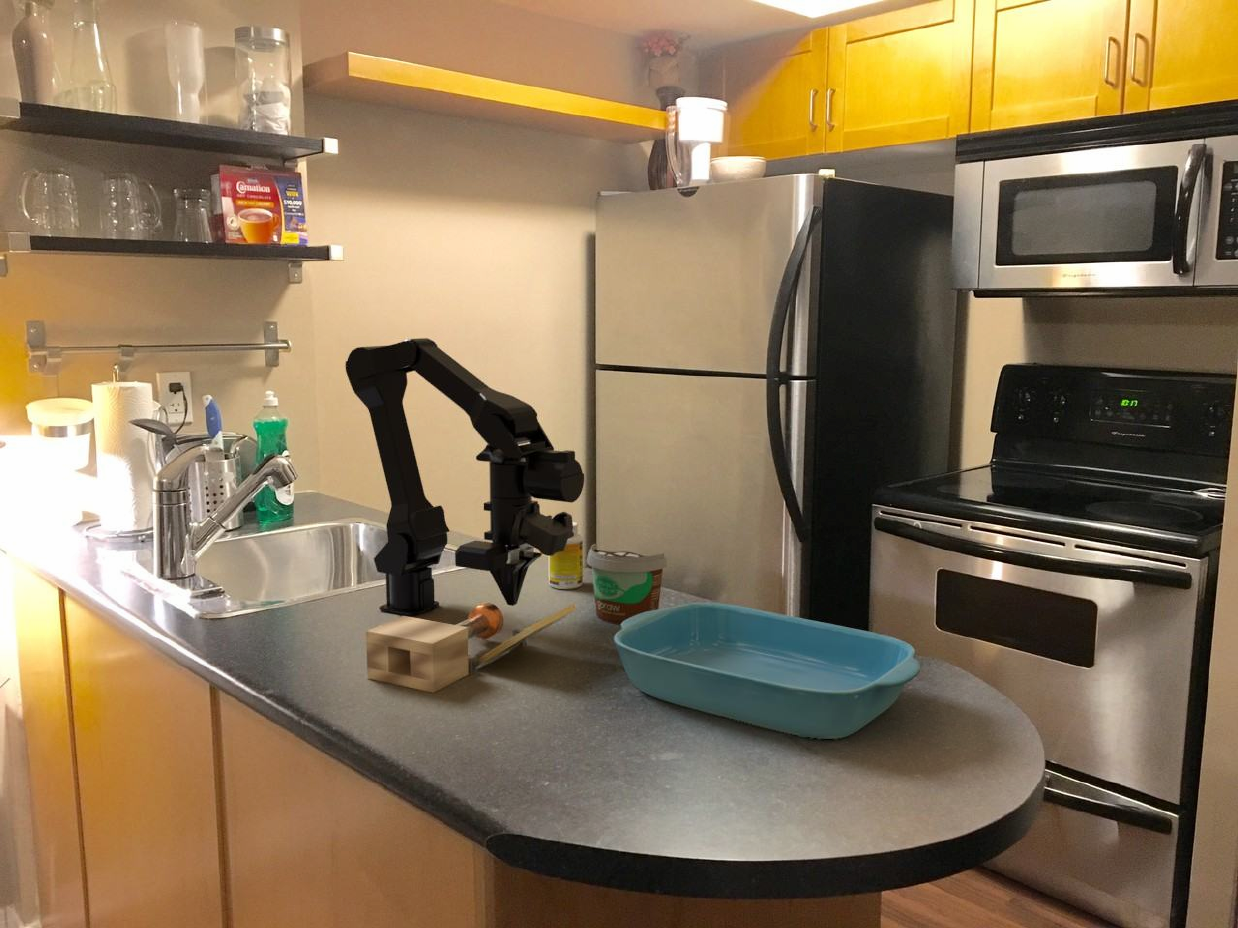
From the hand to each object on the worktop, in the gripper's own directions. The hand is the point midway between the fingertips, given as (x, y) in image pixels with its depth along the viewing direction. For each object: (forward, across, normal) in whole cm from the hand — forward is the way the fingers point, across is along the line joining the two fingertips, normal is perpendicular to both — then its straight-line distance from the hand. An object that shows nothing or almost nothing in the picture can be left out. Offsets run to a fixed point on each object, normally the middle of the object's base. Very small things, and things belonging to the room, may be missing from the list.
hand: (512, 604), depth 147 cm
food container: (+4, +11, -11) cm, 16 cm away
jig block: (+4, -21, 0) cm, 21 cm away
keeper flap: (0, -11, -9) cm, 14 cm away
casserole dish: (+4, -7, -39) cm, 40 cm away
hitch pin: (+3, -12, 0) cm, 12 cm away
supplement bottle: (+4, +23, +5) cm, 24 cm away
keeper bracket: (+4, -11, -5) cm, 12 cm away
